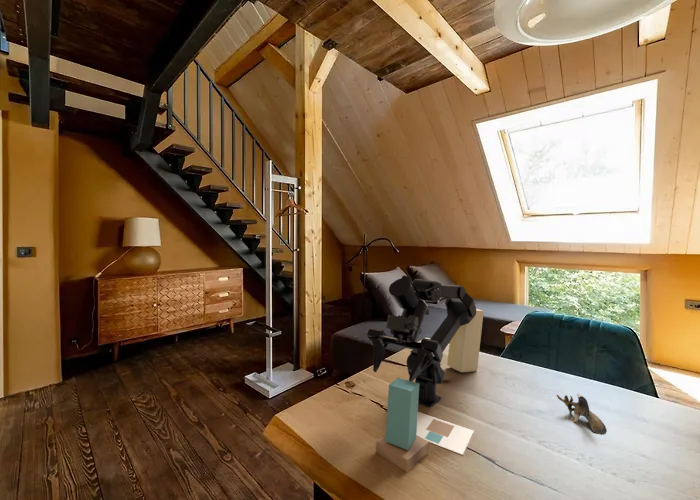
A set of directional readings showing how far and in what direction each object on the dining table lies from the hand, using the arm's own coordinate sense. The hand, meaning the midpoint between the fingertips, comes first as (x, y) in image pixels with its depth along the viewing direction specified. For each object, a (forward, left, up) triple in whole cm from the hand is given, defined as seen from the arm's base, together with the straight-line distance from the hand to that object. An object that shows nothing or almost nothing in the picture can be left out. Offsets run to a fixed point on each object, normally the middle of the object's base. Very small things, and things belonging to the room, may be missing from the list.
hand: (391, 376), depth 74 cm
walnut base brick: (+4, +6, -14) cm, 16 cm away
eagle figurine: (-38, +32, -14) cm, 51 cm away
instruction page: (-8, +8, -14) cm, 18 cm away
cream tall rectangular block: (-46, -4, -13) cm, 48 cm away
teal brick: (+4, +6, -11) cm, 13 cm away
